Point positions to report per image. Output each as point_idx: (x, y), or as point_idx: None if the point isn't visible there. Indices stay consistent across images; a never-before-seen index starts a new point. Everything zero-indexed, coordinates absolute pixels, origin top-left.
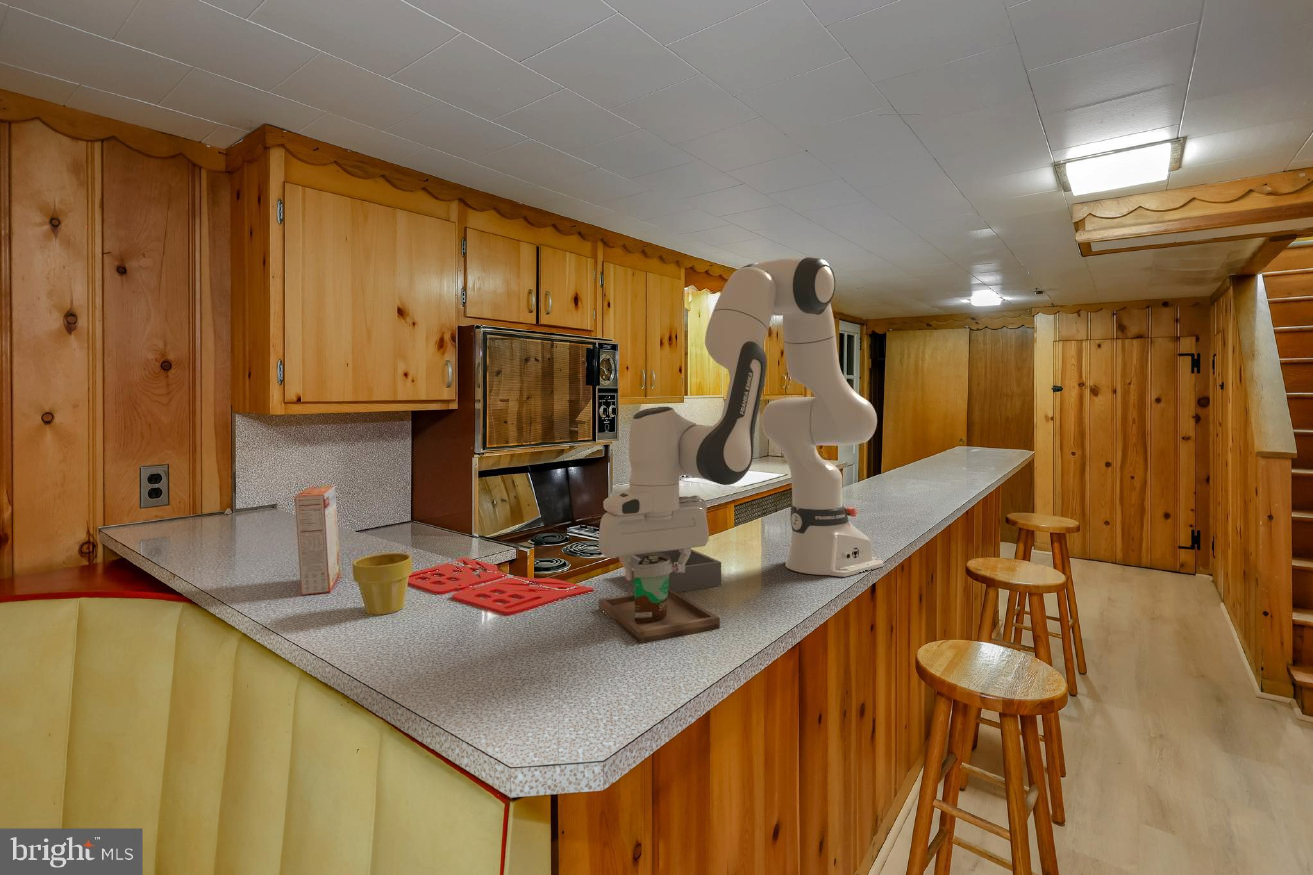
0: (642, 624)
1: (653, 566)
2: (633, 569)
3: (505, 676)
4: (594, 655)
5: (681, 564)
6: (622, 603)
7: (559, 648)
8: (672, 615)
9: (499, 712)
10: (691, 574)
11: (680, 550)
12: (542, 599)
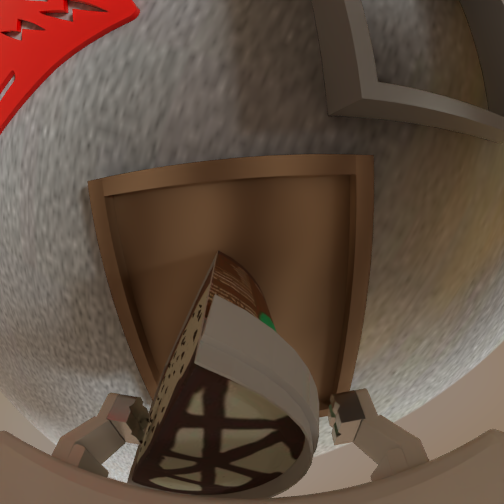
0: None
1: None
2: (128, 435)
3: (26, 387)
4: (100, 402)
5: (350, 441)
6: (164, 193)
7: (51, 360)
8: None
9: (50, 428)
10: (468, 126)
11: (382, 469)
12: (10, 95)
